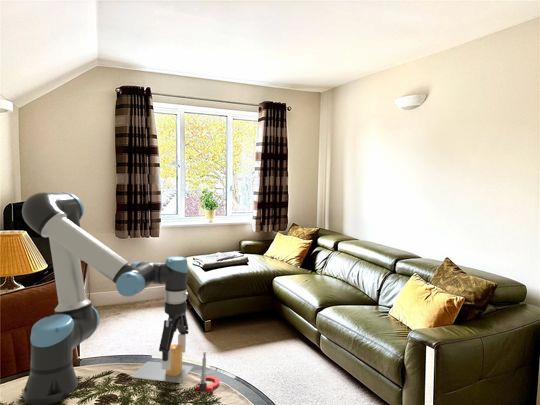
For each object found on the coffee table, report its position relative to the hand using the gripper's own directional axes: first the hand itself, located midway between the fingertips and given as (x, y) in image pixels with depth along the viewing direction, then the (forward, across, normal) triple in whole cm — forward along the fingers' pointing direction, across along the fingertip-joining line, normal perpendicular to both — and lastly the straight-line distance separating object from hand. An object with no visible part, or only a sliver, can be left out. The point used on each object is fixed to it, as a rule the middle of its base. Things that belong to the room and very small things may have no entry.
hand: (174, 360), depth 131 cm
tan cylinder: (+4, 0, 0) cm, 4 cm away
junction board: (+6, 0, +4) cm, 7 cm away
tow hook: (+6, -2, -13) cm, 15 cm away
